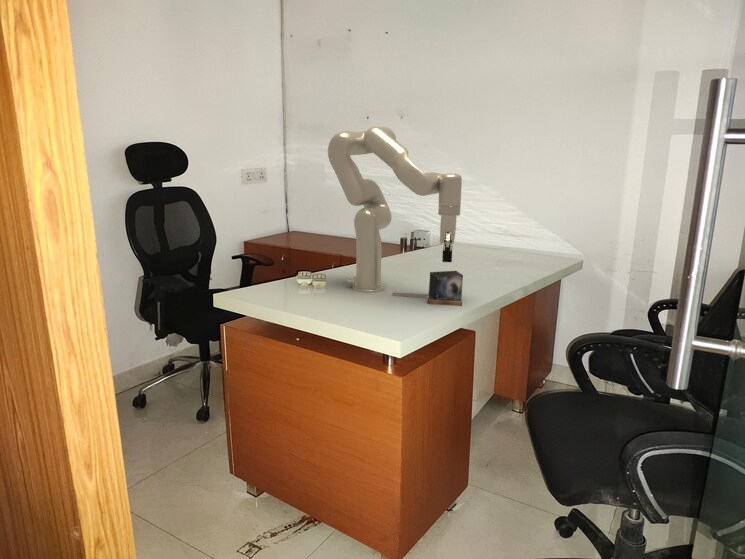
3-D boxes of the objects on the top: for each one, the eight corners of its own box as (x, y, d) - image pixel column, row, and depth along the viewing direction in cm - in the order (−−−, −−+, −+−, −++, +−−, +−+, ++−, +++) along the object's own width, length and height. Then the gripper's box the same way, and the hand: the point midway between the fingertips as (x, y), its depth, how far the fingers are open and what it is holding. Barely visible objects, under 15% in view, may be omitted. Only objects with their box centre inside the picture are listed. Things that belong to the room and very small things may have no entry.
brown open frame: (427, 306, 181) (427, 300, 181) (429, 294, 194) (429, 289, 194) (461, 308, 179) (462, 302, 179) (461, 296, 193) (461, 291, 192)
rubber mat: (389, 302, 185) (389, 301, 184) (392, 293, 195) (392, 292, 195) (425, 304, 183) (426, 303, 182) (427, 295, 193) (427, 294, 193)
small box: (434, 305, 183) (435, 276, 180) (427, 299, 189) (428, 271, 186) (462, 302, 185) (463, 274, 183) (454, 297, 191) (456, 270, 189)
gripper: (439, 207, 187) (437, 253, 192) (437, 213, 171) (435, 264, 175) (460, 207, 186) (457, 254, 191) (460, 213, 170) (458, 264, 174)
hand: (447, 258), depth 183 cm, fingers open, 9 cm apart
